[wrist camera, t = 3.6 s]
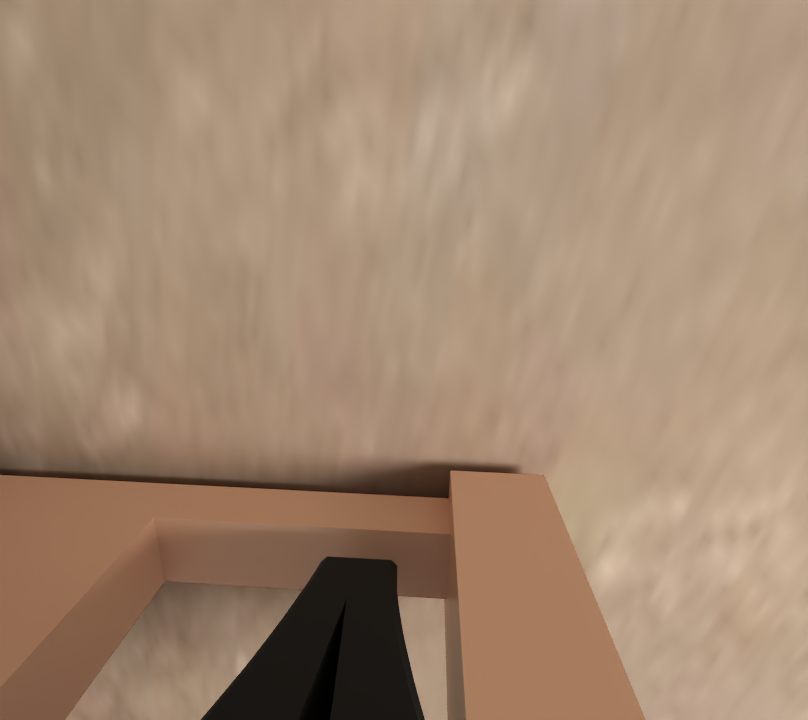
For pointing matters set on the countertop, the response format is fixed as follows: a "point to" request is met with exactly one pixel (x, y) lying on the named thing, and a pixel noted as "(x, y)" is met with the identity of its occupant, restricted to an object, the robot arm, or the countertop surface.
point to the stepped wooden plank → (292, 569)
